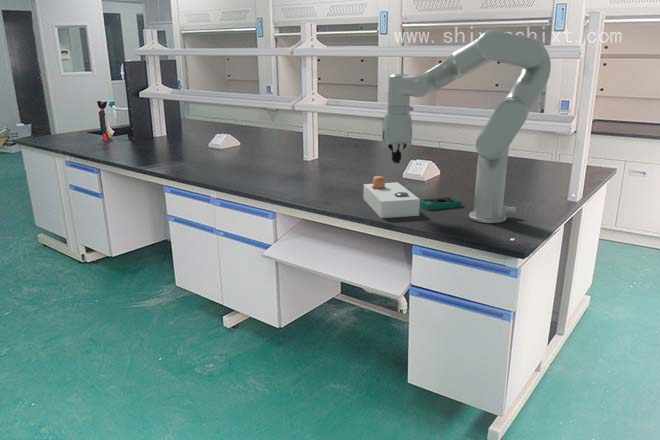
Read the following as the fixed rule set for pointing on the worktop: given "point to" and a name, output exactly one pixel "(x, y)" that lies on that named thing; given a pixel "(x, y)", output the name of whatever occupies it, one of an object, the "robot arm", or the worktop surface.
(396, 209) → the panel
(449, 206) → the digital multimeter
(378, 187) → the orange rounded cylinder
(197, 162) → the worktop surface
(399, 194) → the charcoal plunger
